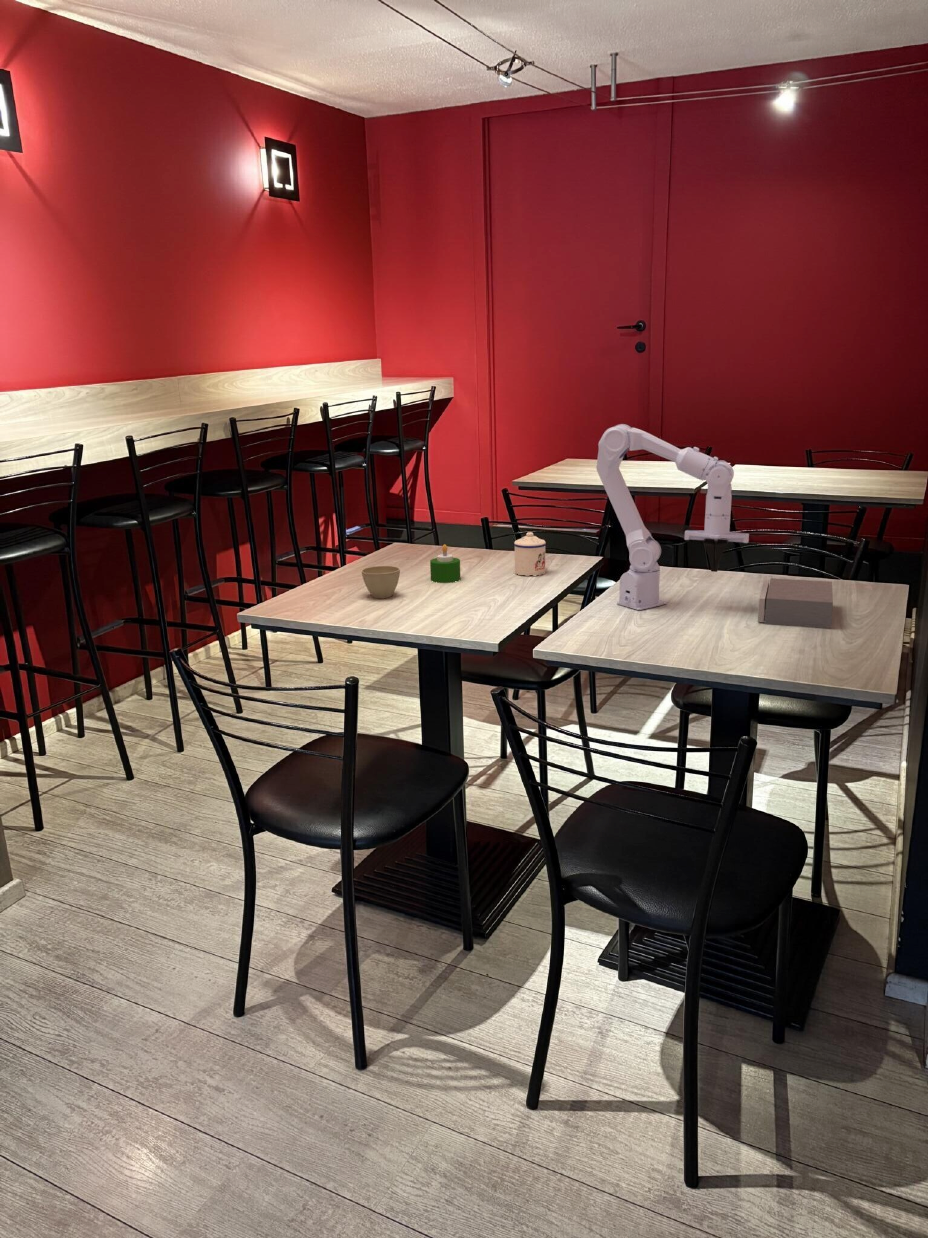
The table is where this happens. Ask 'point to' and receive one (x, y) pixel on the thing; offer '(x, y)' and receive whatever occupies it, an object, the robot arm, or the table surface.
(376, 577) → the bowl
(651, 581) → the robot arm
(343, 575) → the table surface
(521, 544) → the teacup with lid
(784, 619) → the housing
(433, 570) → the candle
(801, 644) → the table surface
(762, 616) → the tray
